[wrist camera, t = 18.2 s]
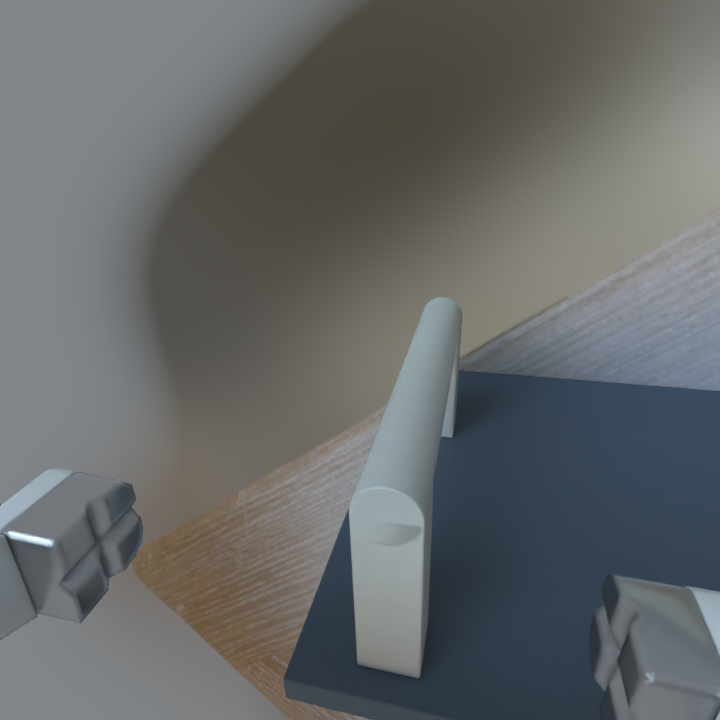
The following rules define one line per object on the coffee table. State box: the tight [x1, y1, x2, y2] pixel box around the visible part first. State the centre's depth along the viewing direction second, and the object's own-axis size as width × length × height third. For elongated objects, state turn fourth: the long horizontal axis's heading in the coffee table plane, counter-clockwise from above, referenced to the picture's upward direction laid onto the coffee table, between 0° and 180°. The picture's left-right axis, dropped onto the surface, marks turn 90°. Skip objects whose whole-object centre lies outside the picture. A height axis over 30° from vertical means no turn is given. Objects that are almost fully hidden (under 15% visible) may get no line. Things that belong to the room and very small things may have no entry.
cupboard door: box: [284, 297, 720, 720], centre depth 16 cm, size 7×22×18 cm, turn 92°
